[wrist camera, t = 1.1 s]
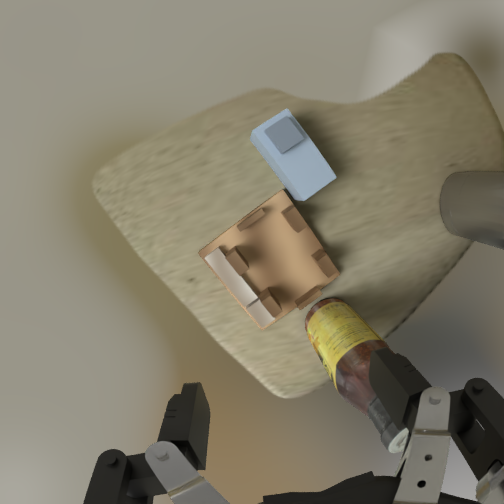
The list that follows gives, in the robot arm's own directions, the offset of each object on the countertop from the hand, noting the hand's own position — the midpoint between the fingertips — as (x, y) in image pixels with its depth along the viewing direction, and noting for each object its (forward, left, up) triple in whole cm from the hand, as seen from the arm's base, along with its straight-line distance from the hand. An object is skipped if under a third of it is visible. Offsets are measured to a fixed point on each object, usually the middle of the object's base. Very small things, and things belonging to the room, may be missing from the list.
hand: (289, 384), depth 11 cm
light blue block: (-10, -8, -20) cm, 23 cm away
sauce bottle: (-3, +11, -20) cm, 22 cm away
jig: (-3, 0, -19) cm, 20 cm away
